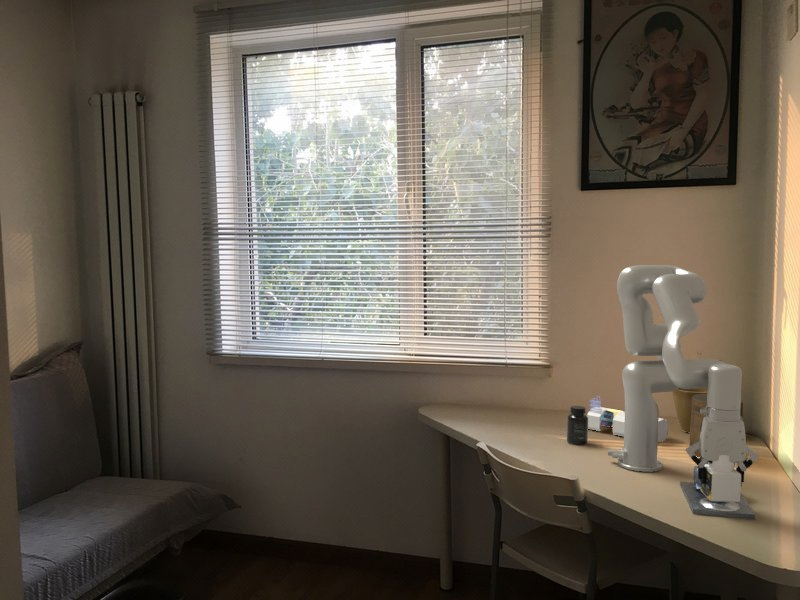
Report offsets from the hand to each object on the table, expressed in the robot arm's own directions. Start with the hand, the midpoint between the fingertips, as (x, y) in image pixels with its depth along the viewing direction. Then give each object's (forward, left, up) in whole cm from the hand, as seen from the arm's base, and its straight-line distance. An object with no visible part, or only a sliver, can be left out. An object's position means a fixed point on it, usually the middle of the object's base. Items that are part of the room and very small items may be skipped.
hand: (720, 483), depth 167 cm
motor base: (0, +5, -7) cm, 8 cm away
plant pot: (+6, +74, -7) cm, 75 cm away
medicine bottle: (0, 0, -4) cm, 4 cm away
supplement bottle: (-34, +50, -7) cm, 61 cm away
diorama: (-17, +64, -7) cm, 67 cm away
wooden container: (+8, +47, -7) cm, 48 cm away
